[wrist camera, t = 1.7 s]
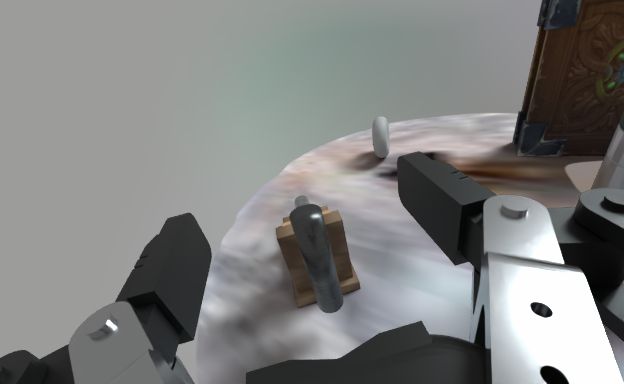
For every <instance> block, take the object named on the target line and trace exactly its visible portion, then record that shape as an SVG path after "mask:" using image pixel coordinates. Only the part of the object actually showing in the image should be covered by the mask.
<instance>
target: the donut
mask: <svg viewBox="0 0 624 384" xmlns="http://www.w3.org/2000/svg"><path fill="white" fill-rule="evenodd" d="M372 136H373V147H374V152H375V154H376V156H377V157H379V158H383V157H386V156H387V155H388V153H389V146H390V143H389V127H388V121H387V119H386V118H385V117H381V116H380V117H377V118H376V119H375V120H374V122H373V129H372Z"/></svg>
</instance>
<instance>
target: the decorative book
mask: <svg viewBox="0 0 624 384" xmlns="http://www.w3.org/2000/svg"><path fill="white" fill-rule="evenodd" d="M537 26H539V32H538V36H537V41H536V46H535V50H534V55H533V60H532V64H531V69H530V73H529V78H528V83H527V87H526V92H525V96H524V102H523V106H522V110H521V111H519V113H518V118H517V122H516V127H515V132H514V136H513V141H512V143H513V145H518V146H517V150H516V155H517V157H561V155H562V154H606V153H607V150H608V148H609V145H610V143H611V141H612V138H613V136H614V134H615V131H616V129H617V127H618V125H619V122H620V119H621V117H622V115H623V112H624V0H542V4H541V9H540V13H539V18H538V23H537Z"/></svg>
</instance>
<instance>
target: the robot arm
mask: <svg viewBox="0 0 624 384" xmlns="http://www.w3.org/2000/svg"><path fill="white" fill-rule="evenodd" d="M397 171H398V193H399V197H400V200H401V202H402V204H403V206H404V207H405V208H406V209H407V211H408V212H409V213H410V214H411V215H412V216H413V218H414V219H415V220H416V221H417V222H418V223H419V224H420V226H421V227H422V228H423V229H424V230H425V231H426V233H427V234H428V235H429V236H430V237H431V238H432V239H433V241H434V242H435V243H436V244H437V245H438V246H439V248H440V249H441V250H442V251H443V252H444V253H445V254H446V256H447V257H448V258H449V259H450V260H451V261H452V262H453V264H454V265H459V264H462V263H466V262H470V263H471V264H472V265H473V272H472V302H471V328H470V338H469V342H468V341H465V340H462V339H459V338H455V337H450V336H444V335H429V333H428V332H427V330H426V328H425V326H424V325H423V323H422V321H419V322H416V323H412V324H409V325H406V326H402V327H399V328H396V329H392V330H389V331H386V332H382V333H379V334H378V335H376V336H374V337H373V338H371V339H370V340H368V341H366V342H365V343H363V344H362V345H360V346H359V347H357V348H355V349H354V350H352V351H351V352H349V353H347V354H346V355H344V356H343V357H341V358H338V359H320V360H288V361H285V362H281V363H278V364H275V365H271V366H268V367H264V368H261V369H258V370H254V371H251V372H248V373H246V384H623V381H622V378H621V375H620V373H619V370H618V367H617V364H616V362H615V359H614V356H613V353H612V350H611V348H610V345H609V342H608V339H607V337H606V334H605V331H604V328H603V325H602V323H603V324H604V325H606V326H607V327H608V328H609V329H610V330H611V331H612V332H613V333H615V334H616V335H617V336H618V337H619V338H620V339H621V340H622V341H624V112H623V115H622V117H621V119H620V122H619V125H618V127H617V129H616V131H615V134H614V136H613V138H612V141H611V143H610V145H609V148H608V150H607V153H606V155H605V158H604V160H603V162H602V165H601V167H600V169H599V172H598V174H597V176H596V178H595V181H594V183H593V185H592V188H591V190H588V191H585V192H583V193H582V194H581V196H580V198H579V201H578V203H577V206H576V207H563V208H545V207H544V206H543V205H542V204H540V203H539V202H537V201H535V200H533V199H530V198H527V197H523V196H518V195H496V194H494V193H493V192H491V191H490V190H488V189H487V188H485V187H484V186H482V185H480V184H479V183H477V182H476V181H474V180H473V179H471V178H470V177H469V178H468V176H467V175H465V174H464V173H462V172H459V170H458V169H456V168H454V167H453V166H451V165H450V164H447V163H444V162H441V161H437V160H434V161H433V160H431V159H430V158H428V157H427V156H426V155H424V154H423V153H421V152H419V151H418V152H414V153H410V154H407V155H403V156H400V157H398V160H397ZM211 255H212V254H211V248H210V245H209V243H208V241H207V239H206V237H205V235H204V234H203V232H202V230H201V228H200V227H199V225H198V223H197V221H196V219H195V218H194V216H193V215H192V214H191V213H185V214H182V215H178V216H174V217H171V218H168V219H167V220H166V222H165V224H164V226H163V228H162V229H161V231H160V234H159V235H156V236H155V237H154V238H153V239H152V240H151V241H150V242H149V243H148V244H147V245H146V247H145V248H144V250H143V252H142V254H141V256H140V259H139V260H138V261H137V263H136V265H135V266H134V268H135V269H133V270H132V272H131V274H130V276H129V277H128V279H127V281H126V283H125V285H124V286H123V288H122V290H121V292H120V294H119V295H118V298H117V299H116V301H115V303H112V304H109V305H107V306H105V307H103V308H101V309H100V310H98V311H96V312H95V313H94V314H92V315H91V316H90V317H89V318H87V319H86V320H85V321H84V322H83V323H82V324H81V325H80V326H79V327H78V329H77V330H76V331H75V333H74V334H73V336H72V338H71V340H70V342H69V344H68V345H66V346H64V347H62V348H60V349H58V350H56V351H55V352H53V353H51V354H49V355H47V356H45V357H43V358H41V359H38V358H37V357H35V356H34V355H33V354H31V353H30V352H28V351H26V350H20V351H15V352H12V353H10V354H7V355H5V356H3V357H1V358H0V384H195V383H194V382H193V380H192V378H191V377H190V375H189V374H188V372H187V370H186V368H185V367H184V365H183V364H182V362H181V360H180V359H179V358H178V356H177V355H176V351H177V347H178V345H179V344H182V343H186V342H189V341H192V340H194V336H195V332H196V327H197V323H198V318H199V314H200V309H201V304H202V300H203V295H204V291H205V286H206V282H207V277H208V272H209V268H210V263H211V257H212V256H211ZM601 322H602V323H601Z"/></svg>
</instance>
